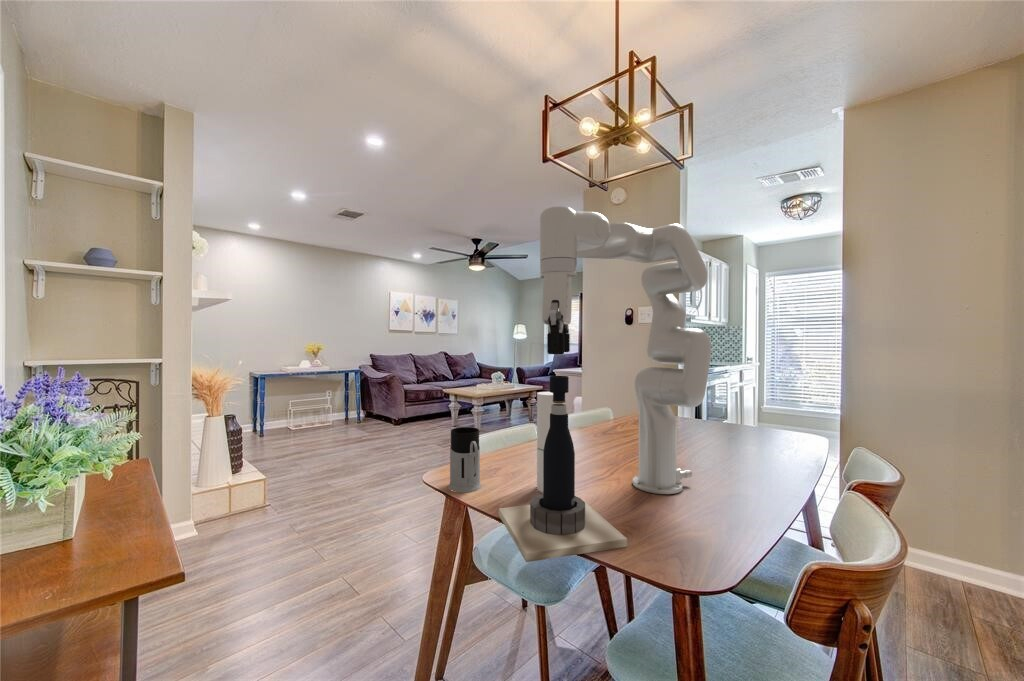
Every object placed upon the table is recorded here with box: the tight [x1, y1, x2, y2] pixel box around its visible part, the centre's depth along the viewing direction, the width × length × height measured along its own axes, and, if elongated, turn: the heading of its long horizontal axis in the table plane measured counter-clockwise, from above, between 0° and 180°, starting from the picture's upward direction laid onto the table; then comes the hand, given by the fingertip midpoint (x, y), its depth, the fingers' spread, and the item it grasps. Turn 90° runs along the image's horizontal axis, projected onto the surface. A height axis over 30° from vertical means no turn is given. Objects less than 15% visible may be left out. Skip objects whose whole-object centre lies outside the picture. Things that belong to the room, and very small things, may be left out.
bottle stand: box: [498, 493, 628, 563], centre depth 84 cm, size 20×20×6 cm
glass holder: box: [448, 426, 482, 494], centre depth 106 cm, size 9×14×15 cm, turn 23°
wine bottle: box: [542, 375, 576, 511], centre depth 84 cm, size 6×6×30 cm
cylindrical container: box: [536, 391, 566, 494], centre depth 107 cm, size 7×7×25 cm
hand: (559, 353), depth 84 cm, fingers open, 9 cm apart
